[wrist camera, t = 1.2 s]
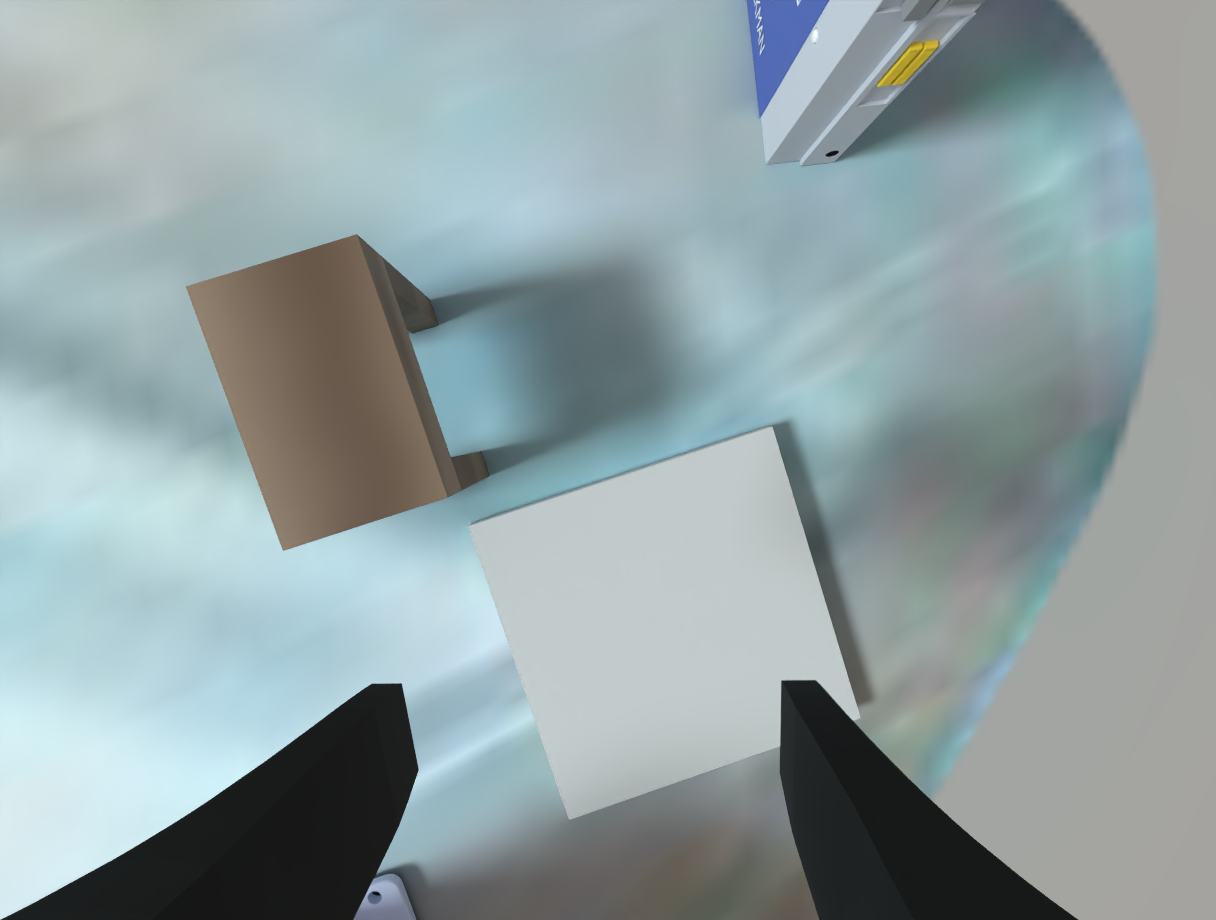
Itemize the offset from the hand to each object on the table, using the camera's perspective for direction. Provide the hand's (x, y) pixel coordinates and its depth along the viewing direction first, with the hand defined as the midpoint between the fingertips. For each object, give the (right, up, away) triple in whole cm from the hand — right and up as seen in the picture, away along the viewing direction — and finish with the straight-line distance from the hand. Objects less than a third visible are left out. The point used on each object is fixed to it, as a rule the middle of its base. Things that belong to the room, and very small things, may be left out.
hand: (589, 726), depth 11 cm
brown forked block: (-7, +7, +11) cm, 15 cm away
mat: (+3, -1, +12) cm, 12 cm away
